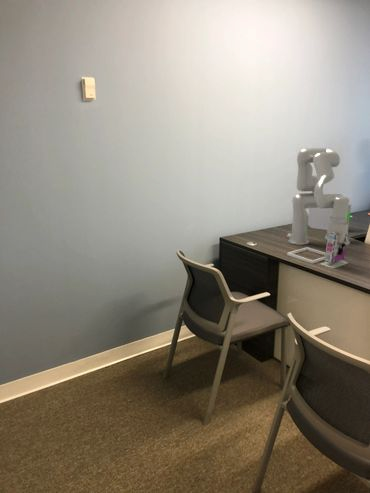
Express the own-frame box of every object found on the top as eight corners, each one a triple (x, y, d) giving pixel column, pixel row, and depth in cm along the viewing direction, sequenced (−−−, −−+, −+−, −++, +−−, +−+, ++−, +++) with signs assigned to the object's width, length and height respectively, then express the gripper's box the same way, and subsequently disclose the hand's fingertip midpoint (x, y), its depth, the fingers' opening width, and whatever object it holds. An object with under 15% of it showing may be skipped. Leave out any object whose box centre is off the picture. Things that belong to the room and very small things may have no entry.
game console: (346, 232, 267) (350, 204, 261) (307, 227, 280) (309, 201, 274) (348, 230, 271) (351, 203, 265) (309, 226, 285) (311, 199, 279)
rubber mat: (319, 264, 206) (319, 263, 206) (335, 259, 213) (335, 258, 213) (332, 268, 200) (332, 267, 199) (348, 263, 207) (348, 262, 207)
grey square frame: (287, 255, 221) (287, 252, 221) (307, 249, 231) (307, 247, 230) (312, 263, 207) (313, 261, 207) (332, 257, 217) (333, 254, 216)
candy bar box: (332, 264, 201) (335, 234, 196) (324, 261, 205) (327, 232, 200) (344, 259, 207) (348, 230, 202) (336, 257, 211) (339, 228, 206)
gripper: (320, 218, 204) (317, 250, 209) (349, 224, 191) (345, 258, 196) (329, 216, 208) (325, 248, 214) (358, 222, 195) (353, 256, 200)
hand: (335, 252), depth 205 cm, fingers closed on candy bar box, 5 cm apart
